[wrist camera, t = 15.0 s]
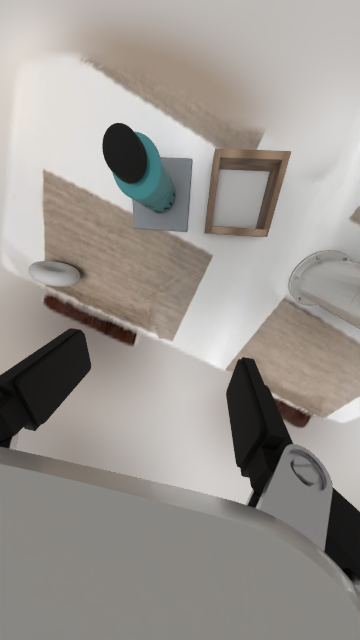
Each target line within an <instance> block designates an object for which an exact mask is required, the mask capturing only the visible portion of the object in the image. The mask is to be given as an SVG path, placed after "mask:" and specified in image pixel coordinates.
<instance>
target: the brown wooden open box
mask: <svg viewBox="0 0 360 640" xmlns="http://www.w3.org/2000/svg"><path fill="white" fill-rule="evenodd" d="M290 154H291V151H266V150H237V149H215V153H214V158H213V165H212V174H211V182H210V191H209V199H208V207H207V216H206V224H205V233H211V234H226V235H240V236H255V237H267V235H268V232H269V228H270V225H271V221H272V218H273V214H274V211H275V207H276V204H277V200H278V197H279V193H280V190H281V186H282V182H283V179H284V175H285V172H286V168H287V165H288V161H289V158H290ZM219 169H231V170H255V171H270V174H269V178H268V182H267V186H266V190H265V194H264V198H263V202H262V206H261V210H260V214H259V218H258V223H257V227H256V229H247V228H232V227H217V226H211V223H212V216H213V208H214V201H215V193H216V186H217V178H218V171H219Z"/></svg>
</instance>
